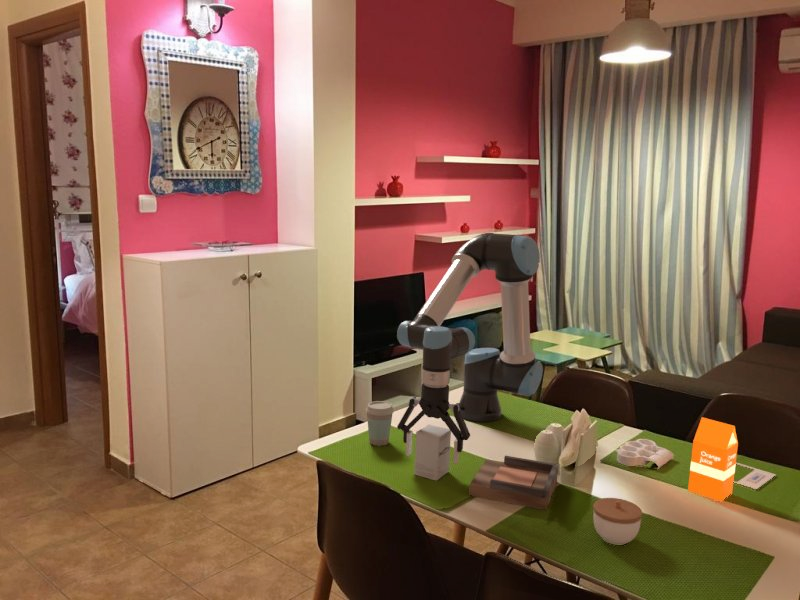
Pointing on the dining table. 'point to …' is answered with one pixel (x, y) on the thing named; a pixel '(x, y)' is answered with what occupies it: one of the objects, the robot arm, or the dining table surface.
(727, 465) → the orange juice
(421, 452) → the supplement box
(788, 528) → the dining table surface
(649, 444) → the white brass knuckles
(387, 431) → the coffee cup
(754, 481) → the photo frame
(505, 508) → the dining table surface
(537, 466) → the dock
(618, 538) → the lidded jar
